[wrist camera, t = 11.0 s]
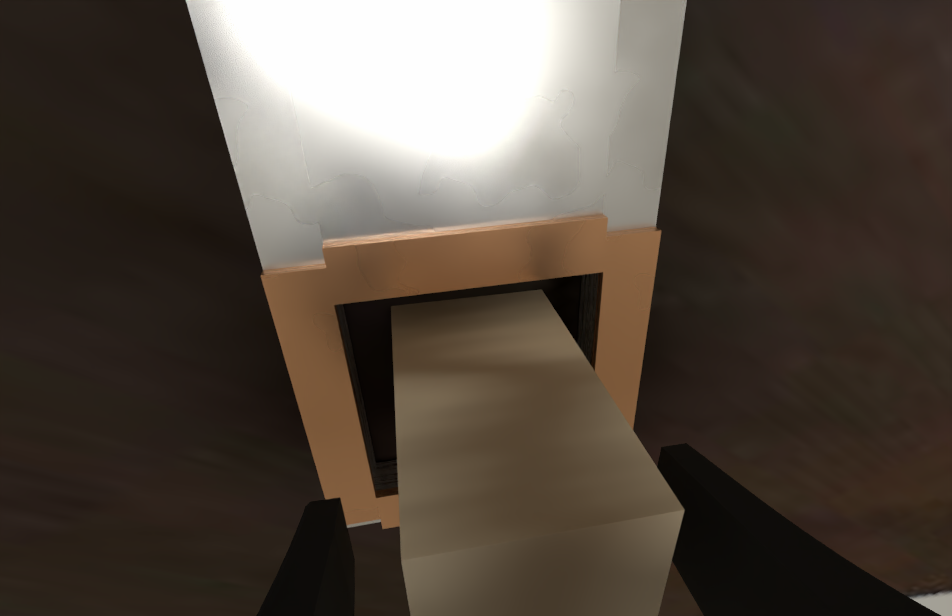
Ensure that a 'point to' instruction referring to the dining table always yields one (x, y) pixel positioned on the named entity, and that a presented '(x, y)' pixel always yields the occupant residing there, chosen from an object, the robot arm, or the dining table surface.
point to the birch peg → (520, 469)
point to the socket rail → (441, 176)
